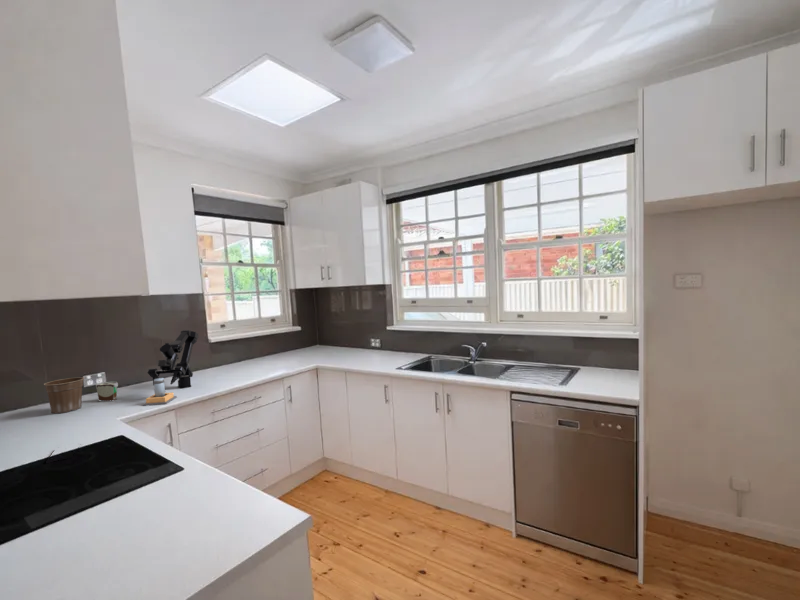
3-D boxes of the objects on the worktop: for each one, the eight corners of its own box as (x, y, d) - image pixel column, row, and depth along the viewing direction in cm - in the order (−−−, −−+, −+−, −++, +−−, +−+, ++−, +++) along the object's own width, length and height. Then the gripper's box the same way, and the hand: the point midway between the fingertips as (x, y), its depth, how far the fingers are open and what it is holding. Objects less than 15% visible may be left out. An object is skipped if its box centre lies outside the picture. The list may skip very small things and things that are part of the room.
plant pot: (52, 408, 203) (50, 379, 203) (90, 403, 210) (87, 375, 210) (40, 417, 189) (38, 386, 188) (81, 411, 196) (78, 381, 195)
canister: (161, 398, 211) (159, 377, 210) (167, 398, 209) (166, 377, 209) (153, 400, 206) (151, 379, 206) (159, 401, 204) (157, 380, 204)
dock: (154, 399, 213) (154, 393, 213) (176, 397, 214) (176, 391, 214) (142, 405, 201) (142, 399, 201) (166, 404, 202) (166, 397, 202)
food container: (124, 397, 219) (123, 381, 219) (115, 400, 213) (114, 383, 213) (105, 397, 221) (104, 381, 220) (96, 401, 215) (95, 384, 214)
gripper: (147, 355, 214) (138, 378, 204) (181, 353, 216) (174, 376, 206) (155, 365, 222) (147, 388, 212) (188, 363, 225) (181, 386, 214)
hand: (162, 384), depth 211 cm, fingers open, 9 cm apart
